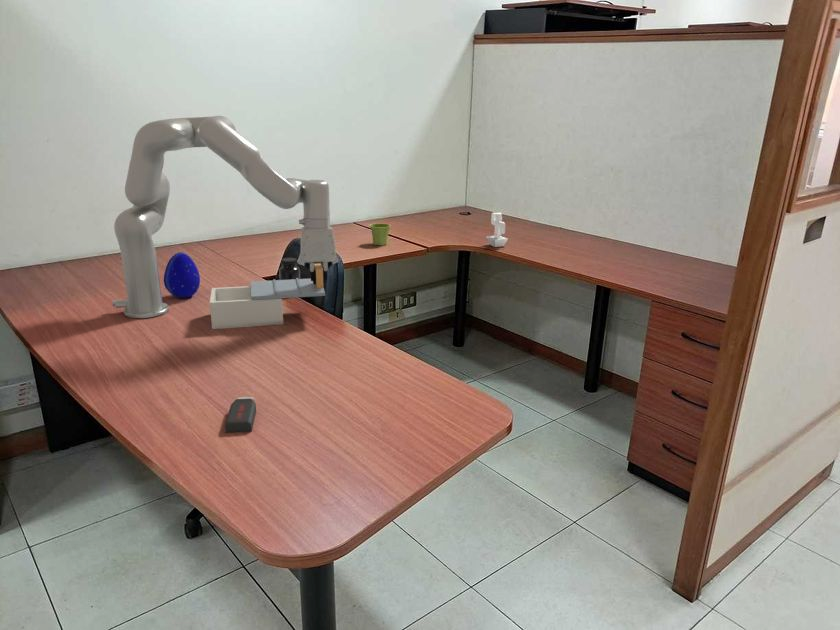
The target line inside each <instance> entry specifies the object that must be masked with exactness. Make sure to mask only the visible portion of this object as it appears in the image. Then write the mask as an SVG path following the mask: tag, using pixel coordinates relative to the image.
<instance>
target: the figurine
mask: <svg viewBox="0 0 840 630" xmlns="http://www.w3.org/2000/svg"><path fill="white" fill-rule="evenodd" d="M490 215H491V218H490V223H491V225H492V226H494V233H493V234H494V235H491V236H486V239H487V242H488V244H489V246H491V247H494V248H497V247H498V248H500V247H504V245H505V244H506V243H507V242H508V240H509V238H507V237H504V236H502V235H505V233H506V223H505V222H504V221H502V220H503V213H502V212H492V213H491V214H490Z"/></svg>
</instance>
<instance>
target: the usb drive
mask: <svg viewBox="0 0 840 630" xmlns="http://www.w3.org/2000/svg"><path fill="white" fill-rule="evenodd" d="M256 415H257V404H256V401H255V400H254V397H253V396H249V397H248V396H244V397H237V398H236V399H235V400H234V401H233V402H232V403H231V404H230V407H229V410H228V413H227V418H226V421H225V424H224V430H225V431H224V432H225V434H234V433H252V432H253V429H254V424H255V418H256Z"/></svg>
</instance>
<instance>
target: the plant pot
mask: <svg viewBox="0 0 840 630" xmlns="http://www.w3.org/2000/svg"><path fill="white" fill-rule="evenodd" d="M390 227H391V224H389V223H379V222H378V223H370V224H369V228H370V231H371V236H372V243H373V245H374V246H379V247H380V246H386V245H387V244H388V241H389V240H388V238H389V232H390Z"/></svg>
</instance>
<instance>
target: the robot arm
mask: <svg viewBox="0 0 840 630" xmlns="http://www.w3.org/2000/svg"><path fill="white" fill-rule="evenodd" d="M191 148H208V149H209V151H210V150H211V151H212V152H213V153H214V154H215V155H217V156H218V157H220V158H221V159H222V160H224V161H225V163H227V164H229V165H230V166H231V167H232V168H233V169H235V170H236V171H237V172H239V173H240V175H241V176H242V177H243V178H244V179H245V180H246V182H248V183H249V184H250V186H251V187H253V189H254V190H256V191H257V192H258V193H259V194H260V195H262V196H263V197H264V198H265V199H267V200H268V201H269V202H271V203H272V204H273V205H274V206H276V207H278V208H281V209H283V210H289V209H293V208H295V207H296V206H297V205H298V204H302V205H303V208H302V210H303V218H302V219H301V218H300V219H298V224H299V225H302V226H303V227H302V228H301V233H300V245H299V246H300V247H299V248H300V250H299V251H300V253H299V256H298V259H297V260H296V262H297V265H300V266H304V267H305V268H307V269H308V270H309V271H310V279H311V281H313V284H316V272H315V269H314V264H315V263H322V268H323V285H325V284H326V281H328V273H327V272H328V270H329V269H330V268H331V267H332V266H333V265H335V264H337V263H338V262H340V261H339V258H338V256H337V253H336V241H335V239H336V238H335V233H334V228H333V227H332V226H331V221H330V220H331V216H330V212H331V211H330V186H329V183H328V182H327V181H326V180H322V179H309V180H306V179H300V178H295V177H290V178H289V177H288V178H283V177H282V176H281V175H280V174H278V173H277V172H276V171H274V169H272V168H271V167H270V165H269V164H268V163H267V162H266V160H265V159H264V157H263V155H262V152H261V151H260V150H259V148H258V147H257V146H256V145H254V144H253V143H252V142H250V141H249V140H248V139H246V138H245V137H244V136H242V135H241V134H240V133H239V132H237V130H236V126H235V124H234V122H233V121H231V120H230V119H229V118H228V117H225V116H222V115H214V116H197V117H196V116H195V117H177V118H167V119H160V120H154V121H150V122H148V123H146V124H144V125H143V126H141V127H140V128H139V129H138V131H137V132H136V135H135V137H134V139H133V145H132V150H131V157H130V160H129V164H128V170H127V176H126V180H125V186H124V193H125V197H126V199H127V200H128V202H129V203H131V204H132V205H133V206H131V207H130V208H127V209H125V210H123V211H122V212H121V213H119V214H118V215H117V216H116V219H115V221H114V226H113V227H114V233H115V237H116V240H117V242H118V243H117V244H118V246H119V251H120V256H121V262H122V263H121V264H122V269H123V277H124V282H125V290H126V297H127V298H124V299H113V300H112V306H113V307H115V308H116V309H121V308H123V314H124V316H126V317H128V318H133V319H147V318H148V319H149V318H154V317H158V316H161V315H164V314H166V313H167V312H169V310H170V308H169V304H167V303H165V302H163V297H162V289H161V282H160V280H161V279H160V273H159V265H158V263H159V262H158V258H157V250H156V247H155V244H154V241H153V239H152V235H155V234H156V233H158V232H159V231H160V229H161V228H162V227H163V224H164V221H165V216H166V211H167V207H168V203H169V197H170V191H171V190H170V189H171V188H170V182H169V180H168V178H167V176H166V175H165V174H164V172H163V169H164V163H165V154H166V153H167V152H172V151H174V152H175V151H181V150H183V149H184V150H185V149H191Z"/></svg>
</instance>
